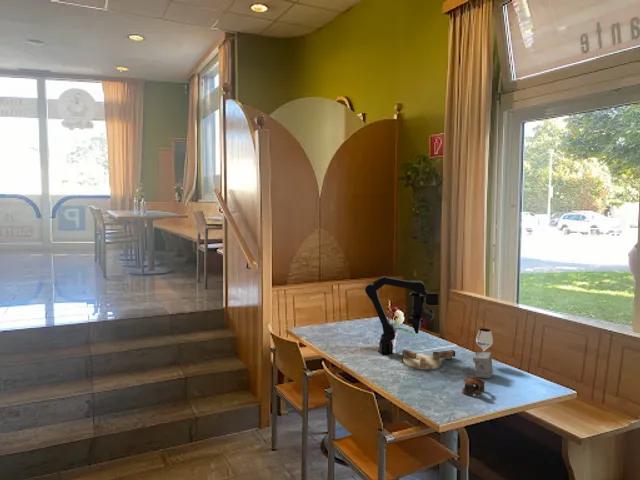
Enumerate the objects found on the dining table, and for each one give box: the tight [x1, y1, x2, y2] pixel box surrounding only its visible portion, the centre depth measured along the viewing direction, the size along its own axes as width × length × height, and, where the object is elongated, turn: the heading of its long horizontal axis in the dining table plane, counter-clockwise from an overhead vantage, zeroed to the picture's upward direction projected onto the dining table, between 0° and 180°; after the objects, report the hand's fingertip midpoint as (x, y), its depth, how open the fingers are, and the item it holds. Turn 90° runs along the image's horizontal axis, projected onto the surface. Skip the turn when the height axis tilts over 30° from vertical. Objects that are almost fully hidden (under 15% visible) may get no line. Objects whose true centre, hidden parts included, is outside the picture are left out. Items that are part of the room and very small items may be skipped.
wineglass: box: [475, 327, 494, 352], centre depth 243 cm, size 8×8×18 cm
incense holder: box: [472, 351, 494, 379], centre depth 228 cm, size 10×8×10 cm
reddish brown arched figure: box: [461, 375, 486, 397], centre depth 207 cm, size 12×10×8 cm
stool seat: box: [401, 349, 442, 371], centre depth 244 cm, size 19×20×4 cm
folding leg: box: [432, 349, 456, 359], centre depth 248 cm, size 12×3×3 cm, turn 111°
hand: (416, 333), depth 254 cm, fingers closed
